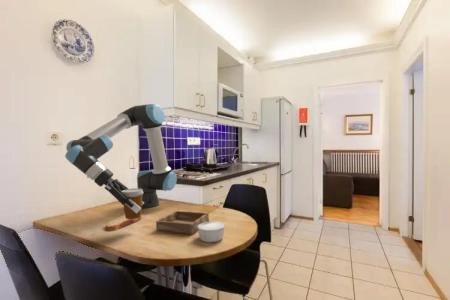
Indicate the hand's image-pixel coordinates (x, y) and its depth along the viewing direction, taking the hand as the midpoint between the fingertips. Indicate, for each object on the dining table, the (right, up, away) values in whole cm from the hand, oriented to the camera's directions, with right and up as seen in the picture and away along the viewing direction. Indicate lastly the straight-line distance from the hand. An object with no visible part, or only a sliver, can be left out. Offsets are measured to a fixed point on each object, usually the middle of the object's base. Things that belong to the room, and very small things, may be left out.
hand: (140, 208), depth 107 cm
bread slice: (-13, -12, +13) cm, 22 cm away
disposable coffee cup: (-3, -4, 0) cm, 5 cm away
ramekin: (+32, -10, -9) cm, 35 cm away
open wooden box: (+18, -10, +6) cm, 22 cm away
